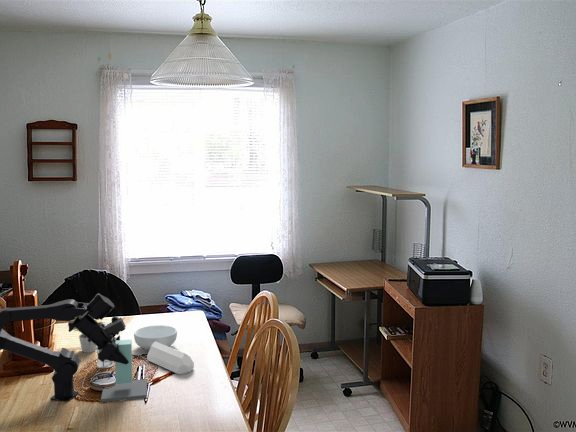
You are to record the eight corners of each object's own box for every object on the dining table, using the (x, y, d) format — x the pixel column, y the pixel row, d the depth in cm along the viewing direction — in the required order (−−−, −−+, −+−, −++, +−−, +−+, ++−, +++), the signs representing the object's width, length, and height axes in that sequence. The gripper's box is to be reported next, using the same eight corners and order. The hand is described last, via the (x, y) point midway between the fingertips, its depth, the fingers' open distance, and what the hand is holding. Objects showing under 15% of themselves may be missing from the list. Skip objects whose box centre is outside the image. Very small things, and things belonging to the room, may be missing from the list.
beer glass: (109, 369, 216) (108, 329, 214) (92, 368, 217) (90, 328, 216) (118, 363, 222) (117, 324, 221) (101, 361, 224) (100, 323, 222)
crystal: (139, 351, 224) (175, 367, 207) (153, 338, 228) (189, 353, 211) (148, 365, 228) (184, 382, 211) (162, 352, 232) (198, 368, 214)
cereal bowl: (126, 353, 234) (126, 335, 233) (146, 340, 250) (145, 324, 249) (166, 356, 230) (165, 338, 229) (183, 343, 246) (183, 326, 245)
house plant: (73, 359, 226) (71, 318, 224) (62, 350, 237) (61, 310, 236) (109, 352, 234) (108, 312, 233) (98, 343, 246) (96, 304, 244)
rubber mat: (101, 402, 187) (100, 399, 187) (104, 385, 201) (104, 382, 201) (146, 398, 190) (146, 394, 190) (146, 381, 204) (146, 379, 204)
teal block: (115, 384, 192) (114, 345, 191) (116, 378, 197) (115, 340, 196) (131, 382, 193) (130, 344, 192) (132, 377, 198) (131, 339, 197)
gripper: (108, 319, 183) (145, 351, 186) (111, 304, 201) (145, 334, 204) (81, 345, 182) (119, 377, 185) (88, 328, 200) (122, 357, 203)
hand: (128, 360), depth 195 cm, fingers closed on teal block, 5 cm apart
